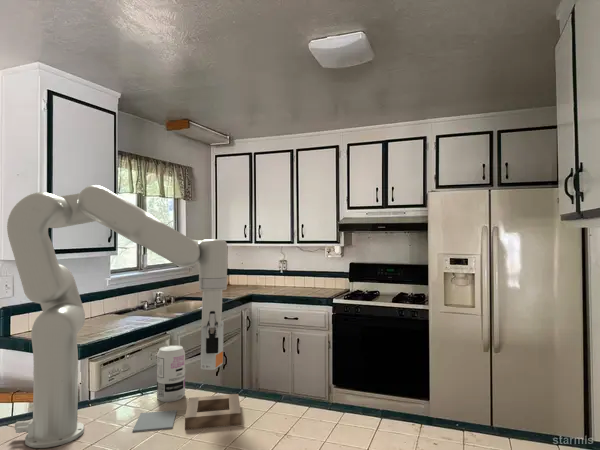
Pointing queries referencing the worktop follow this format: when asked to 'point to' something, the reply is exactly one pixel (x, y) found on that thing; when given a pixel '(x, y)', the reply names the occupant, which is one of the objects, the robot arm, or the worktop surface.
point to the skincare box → (212, 359)
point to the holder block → (213, 418)
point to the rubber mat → (155, 421)
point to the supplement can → (170, 373)
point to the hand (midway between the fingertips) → (212, 348)
